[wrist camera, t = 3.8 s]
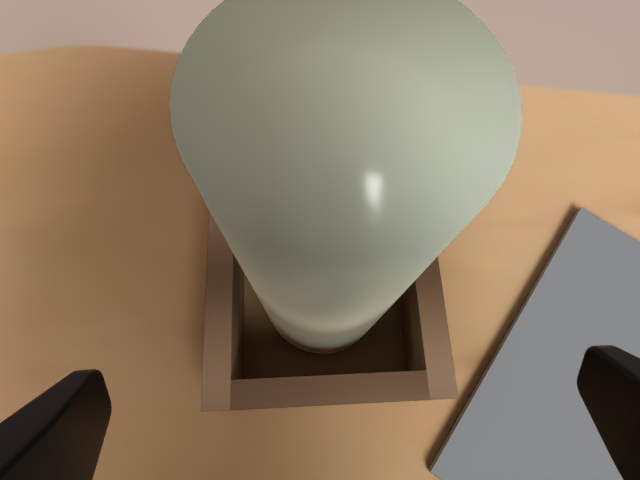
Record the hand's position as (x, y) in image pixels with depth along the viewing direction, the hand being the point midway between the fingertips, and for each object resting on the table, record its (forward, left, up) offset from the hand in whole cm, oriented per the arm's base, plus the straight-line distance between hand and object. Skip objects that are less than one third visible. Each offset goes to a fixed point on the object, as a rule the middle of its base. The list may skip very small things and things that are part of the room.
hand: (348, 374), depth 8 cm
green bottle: (+2, +3, -11) cm, 11 cm away
